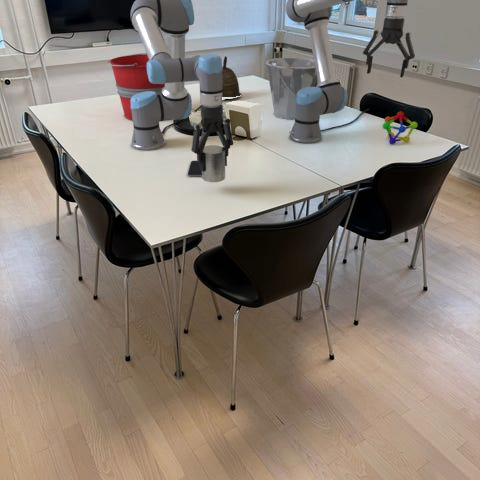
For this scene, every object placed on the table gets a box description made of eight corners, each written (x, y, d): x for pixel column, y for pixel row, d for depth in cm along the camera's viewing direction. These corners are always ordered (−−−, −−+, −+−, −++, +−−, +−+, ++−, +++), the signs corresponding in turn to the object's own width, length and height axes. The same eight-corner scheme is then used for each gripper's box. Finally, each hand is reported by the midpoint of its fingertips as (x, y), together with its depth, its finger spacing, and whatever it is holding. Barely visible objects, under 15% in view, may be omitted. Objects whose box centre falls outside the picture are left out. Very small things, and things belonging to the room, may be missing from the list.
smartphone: (187, 174, 176) (191, 160, 188) (187, 176, 176) (191, 162, 189) (205, 175, 176) (208, 160, 188) (205, 176, 176) (208, 162, 189)
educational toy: (377, 146, 209) (379, 114, 202) (384, 138, 219) (386, 107, 211) (411, 149, 202) (415, 116, 195) (417, 141, 212) (420, 109, 204)
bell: (227, 105, 294) (202, 96, 282) (238, 66, 289) (213, 55, 277) (243, 108, 280) (217, 98, 268) (255, 66, 275) (229, 55, 263)
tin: (198, 175, 165) (197, 147, 159) (219, 171, 168) (219, 143, 162) (207, 184, 158) (206, 155, 152) (228, 179, 161) (228, 151, 155)
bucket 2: (291, 125, 232) (295, 70, 217) (253, 113, 251) (254, 61, 236) (327, 115, 249) (333, 62, 234) (289, 104, 267) (292, 55, 253)
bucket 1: (123, 105, 263) (116, 51, 247) (182, 106, 262) (179, 52, 247) (107, 123, 234) (97, 63, 218) (173, 124, 233) (168, 64, 217)
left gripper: (188, 112, 141) (192, 177, 153) (243, 102, 151) (243, 164, 163) (178, 106, 146) (182, 170, 158) (232, 97, 156) (232, 158, 168)
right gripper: (360, 16, 174) (352, 73, 185) (426, 20, 163) (414, 80, 174) (365, 14, 179) (358, 70, 190) (430, 18, 168) (418, 76, 180)
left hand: (213, 167), depth 161 cm, fingers closed on tin, 8 cm apart
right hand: (384, 75), depth 182 cm, fingers open, 13 cm apart
